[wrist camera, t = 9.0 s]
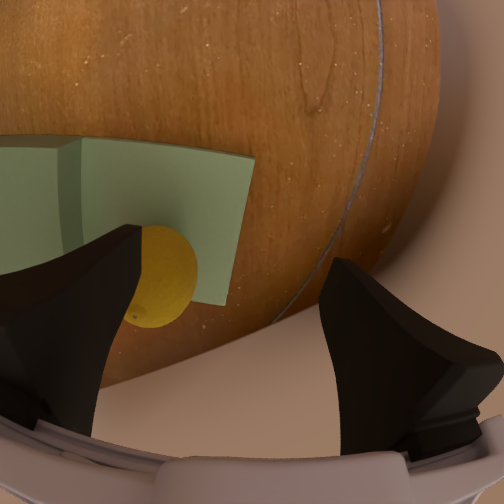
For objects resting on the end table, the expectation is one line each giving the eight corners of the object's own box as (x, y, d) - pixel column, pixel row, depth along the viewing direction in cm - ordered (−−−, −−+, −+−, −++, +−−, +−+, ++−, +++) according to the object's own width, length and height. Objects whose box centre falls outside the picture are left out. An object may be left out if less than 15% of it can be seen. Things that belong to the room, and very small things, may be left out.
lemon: (213, 219, 21) (198, 292, 14) (194, 282, 23) (177, 363, 16) (137, 197, 20) (87, 258, 13) (127, 263, 22) (88, 336, 15)
